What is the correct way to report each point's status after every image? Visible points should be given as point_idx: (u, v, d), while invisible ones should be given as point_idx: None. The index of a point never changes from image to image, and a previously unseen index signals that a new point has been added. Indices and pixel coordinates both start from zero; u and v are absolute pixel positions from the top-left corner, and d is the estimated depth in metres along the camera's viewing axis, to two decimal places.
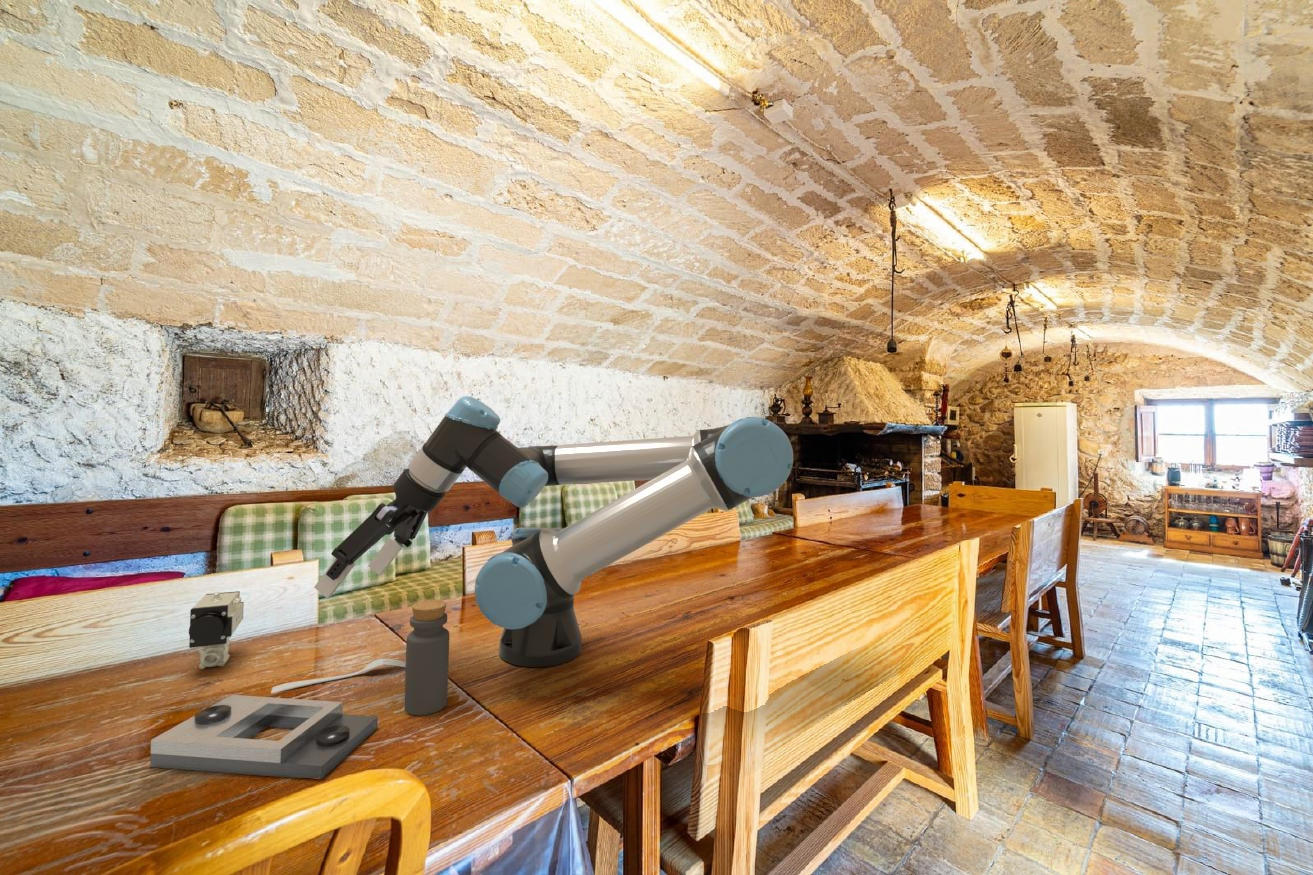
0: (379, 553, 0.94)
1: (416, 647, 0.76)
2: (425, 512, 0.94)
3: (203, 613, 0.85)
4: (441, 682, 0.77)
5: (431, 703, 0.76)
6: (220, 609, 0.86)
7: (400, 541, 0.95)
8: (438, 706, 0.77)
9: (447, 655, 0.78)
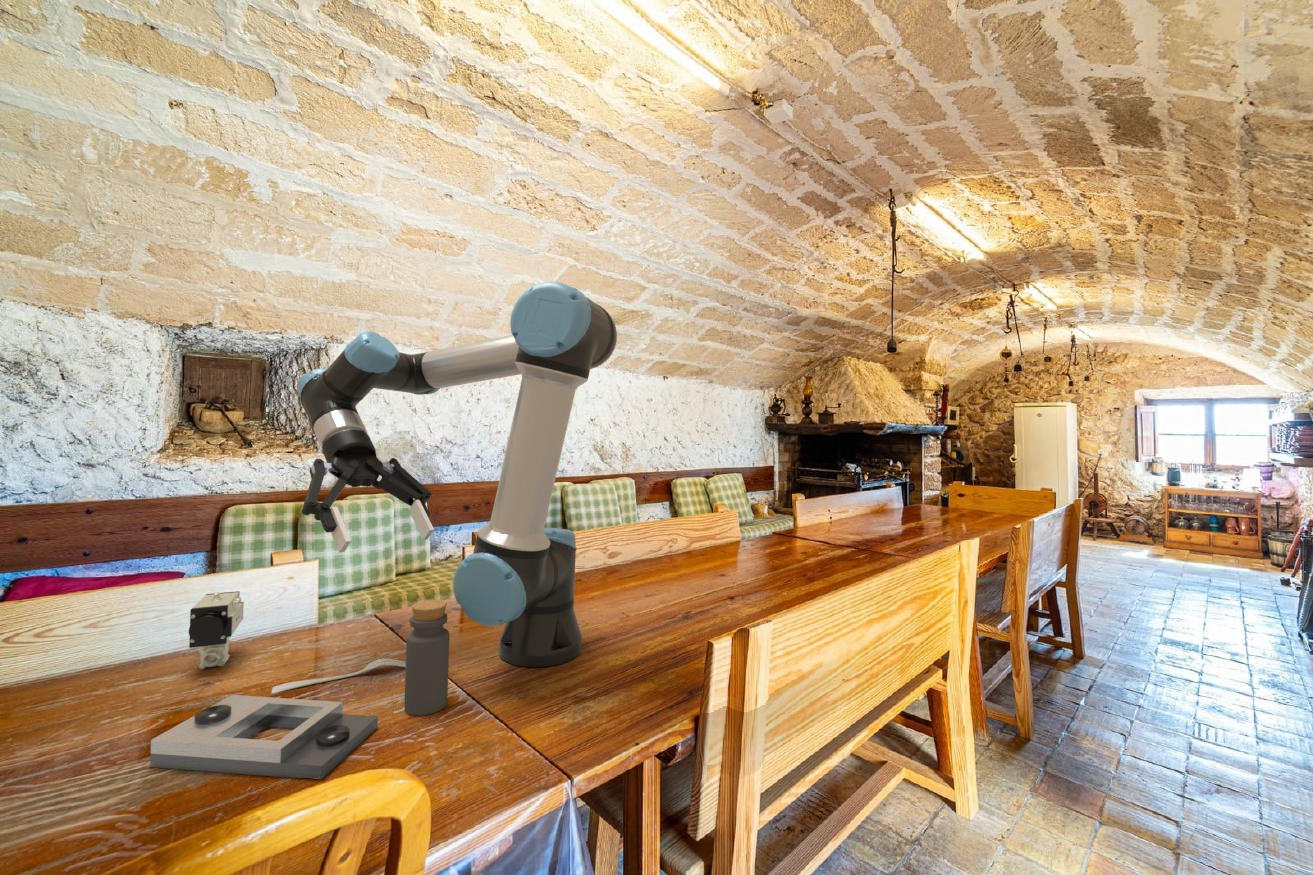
0: (416, 524, 0.91)
1: (416, 647, 0.76)
2: (396, 467, 0.94)
3: (203, 613, 0.85)
4: (441, 682, 0.77)
5: (431, 703, 0.76)
6: (220, 609, 0.86)
7: None
8: (438, 706, 0.77)
9: (447, 655, 0.78)
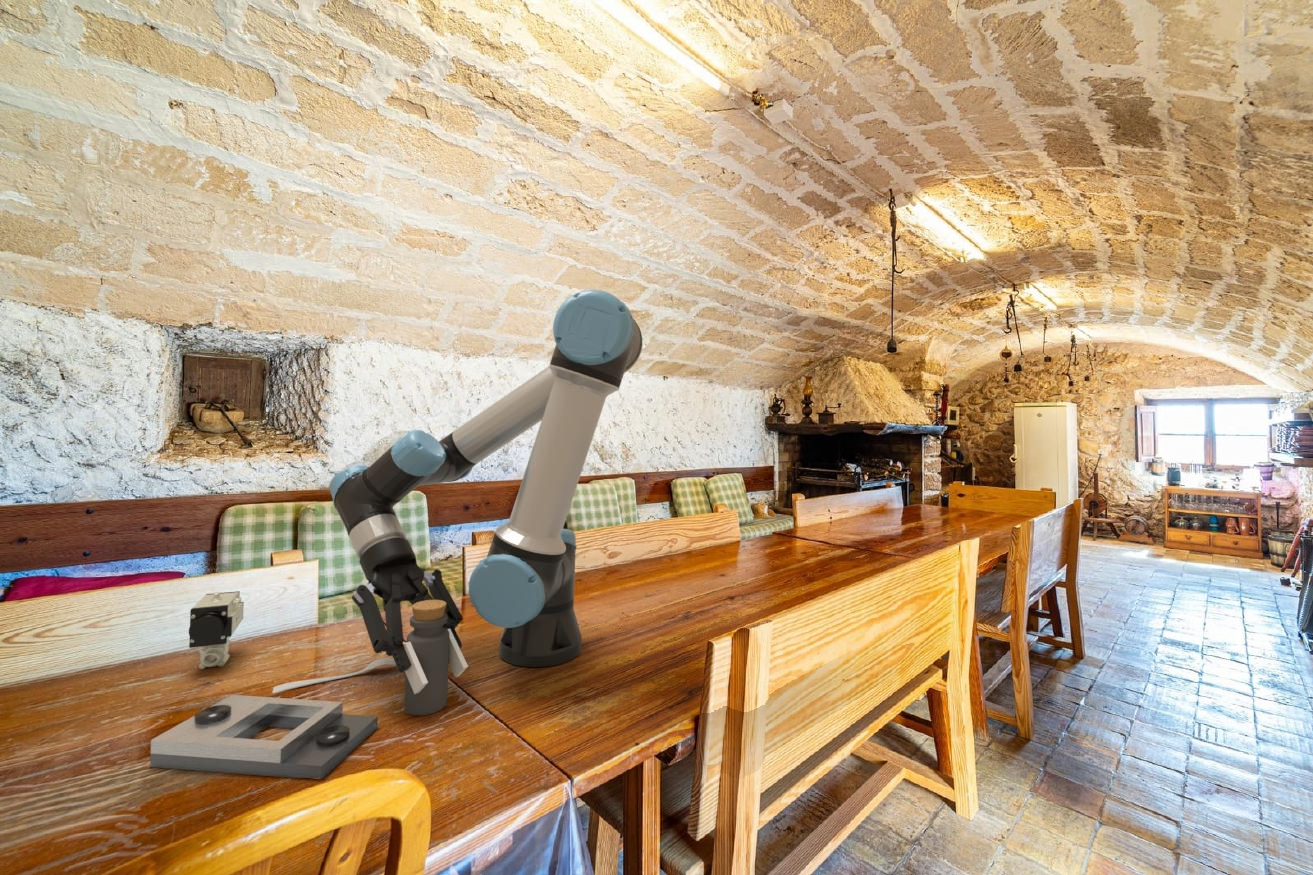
0: None
1: (416, 647, 0.76)
2: (437, 580, 0.86)
3: (203, 613, 0.85)
4: (441, 682, 0.77)
5: (431, 703, 0.76)
6: (220, 609, 0.86)
7: None
8: (438, 706, 0.77)
9: (447, 655, 0.78)
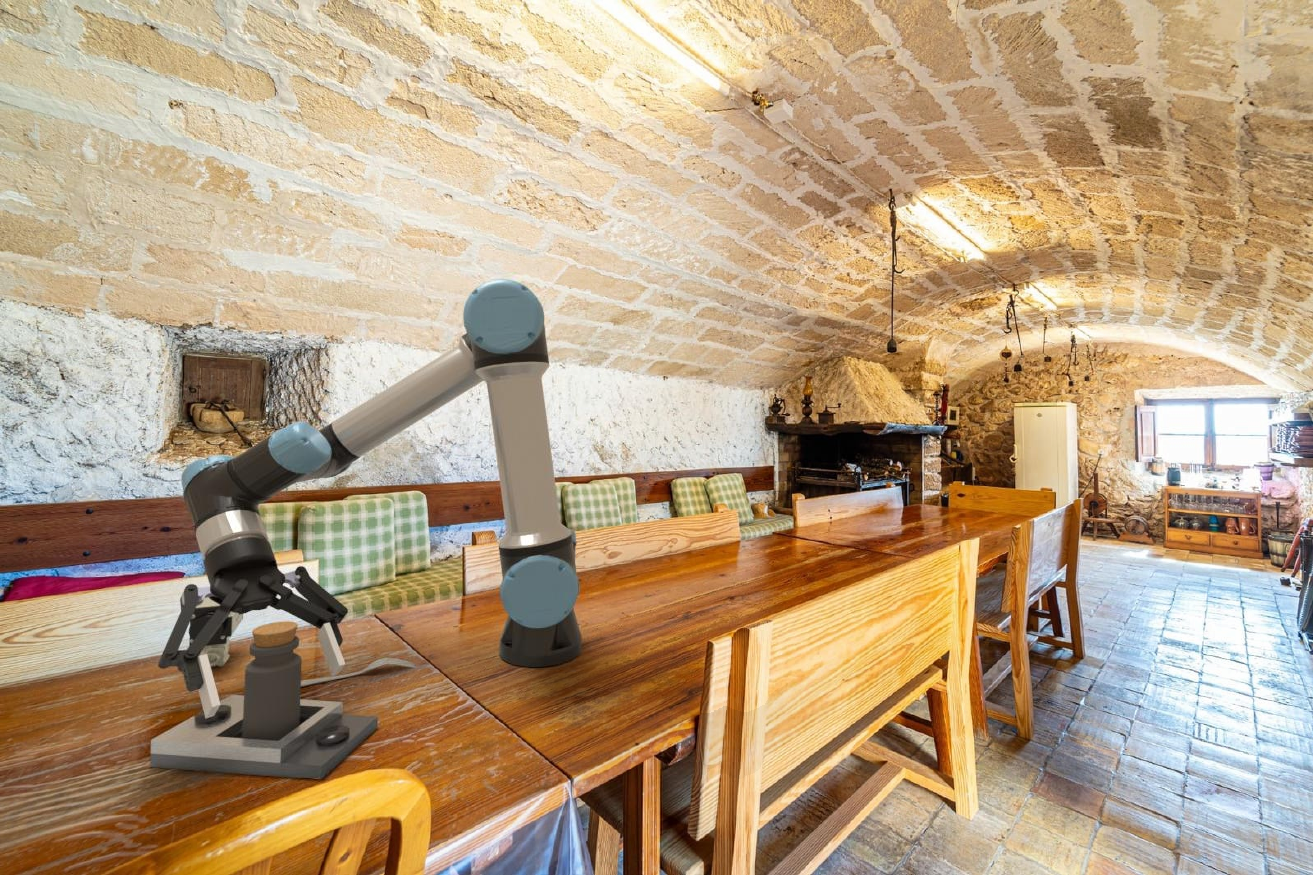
0: (325, 654, 0.73)
1: (253, 679, 0.65)
2: (303, 578, 0.76)
3: (203, 613, 0.85)
4: (286, 719, 0.66)
5: None
6: None
7: None
8: None
9: (296, 687, 0.67)
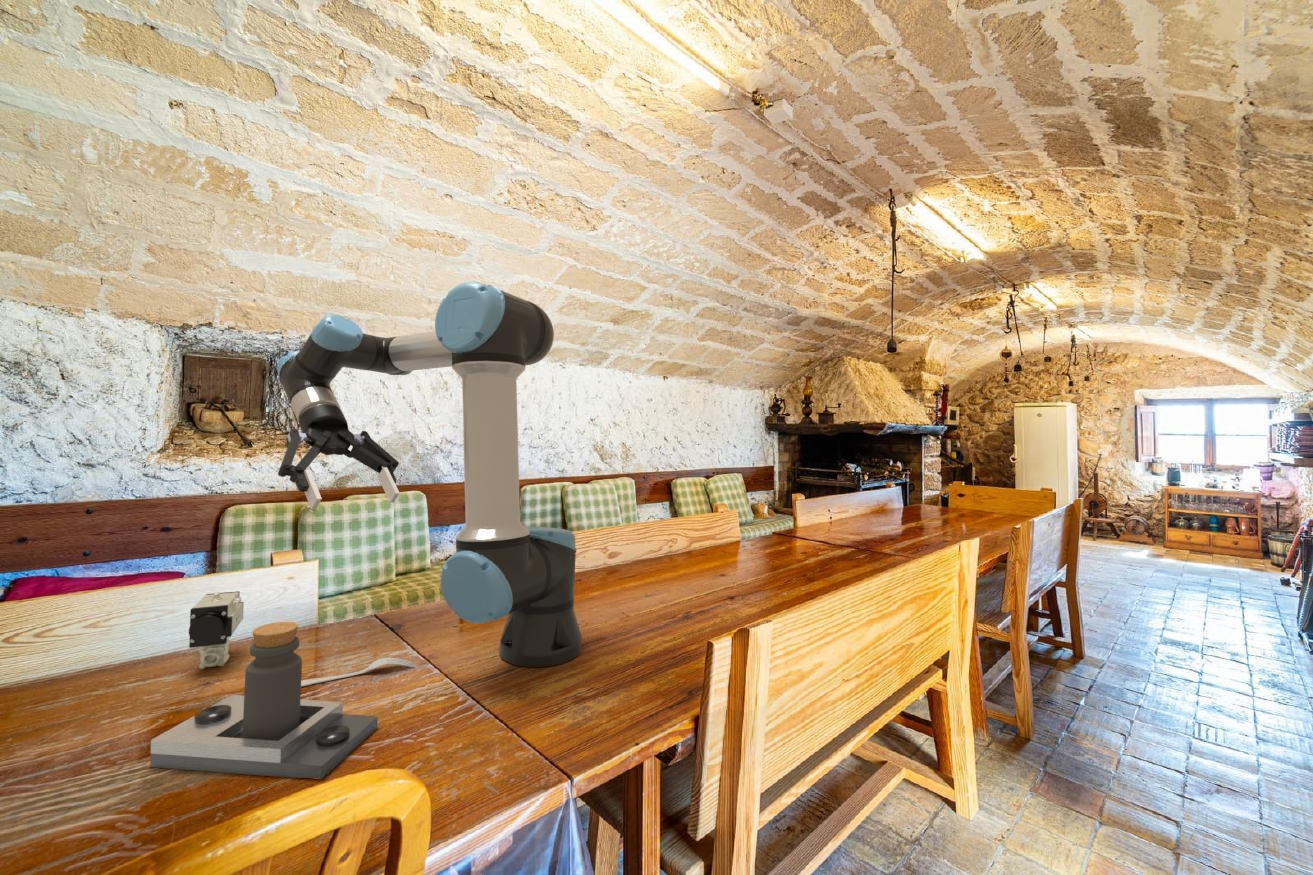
0: (384, 488, 1.01)
1: (254, 679, 0.64)
2: (367, 438, 1.05)
3: (203, 613, 0.85)
4: (286, 719, 0.66)
5: None
6: (220, 609, 0.86)
7: None
8: None
9: (296, 687, 0.67)
